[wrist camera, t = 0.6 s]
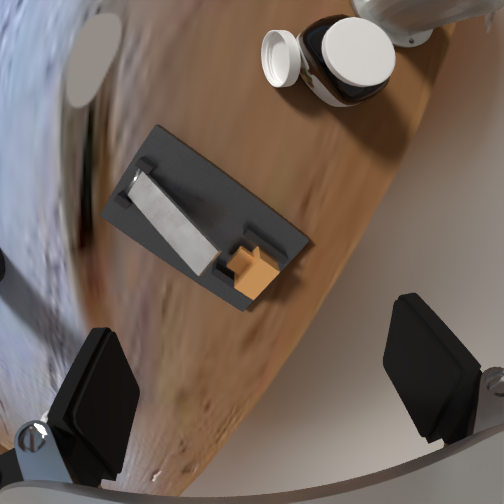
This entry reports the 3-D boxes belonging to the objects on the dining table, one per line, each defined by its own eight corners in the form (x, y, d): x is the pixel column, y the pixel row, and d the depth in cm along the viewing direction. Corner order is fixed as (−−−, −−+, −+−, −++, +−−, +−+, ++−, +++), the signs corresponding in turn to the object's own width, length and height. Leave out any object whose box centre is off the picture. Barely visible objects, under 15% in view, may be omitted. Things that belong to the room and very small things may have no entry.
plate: (158, 124, 34) (151, 125, 31) (307, 236, 41) (313, 246, 38) (104, 212, 38) (93, 220, 35) (242, 305, 45) (243, 320, 42)
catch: (246, 235, 39) (246, 248, 35) (276, 257, 40) (279, 272, 37) (222, 263, 40) (220, 278, 37) (252, 284, 42) (253, 300, 38)
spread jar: (371, 88, 33) (419, 82, 22) (300, 130, 35) (325, 136, 25) (320, 12, 28) (349, -23, 18) (244, 51, 31) (245, 24, 20)
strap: (143, 168, 35) (138, 167, 34) (222, 250, 32) (217, 251, 31) (129, 191, 36) (123, 191, 35) (202, 275, 33) (197, 276, 32)
